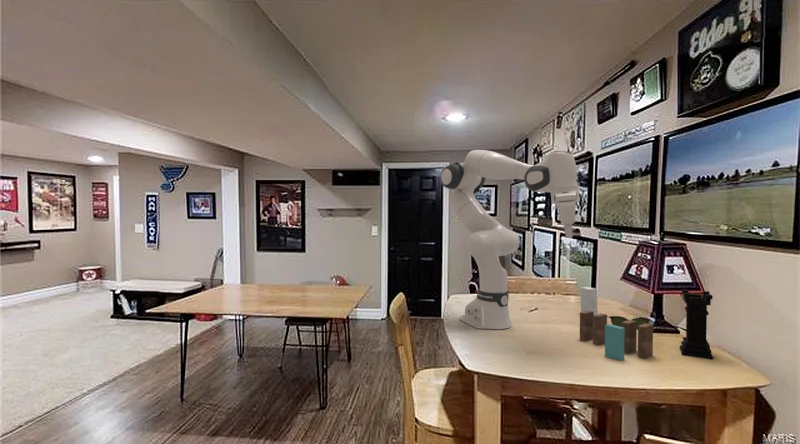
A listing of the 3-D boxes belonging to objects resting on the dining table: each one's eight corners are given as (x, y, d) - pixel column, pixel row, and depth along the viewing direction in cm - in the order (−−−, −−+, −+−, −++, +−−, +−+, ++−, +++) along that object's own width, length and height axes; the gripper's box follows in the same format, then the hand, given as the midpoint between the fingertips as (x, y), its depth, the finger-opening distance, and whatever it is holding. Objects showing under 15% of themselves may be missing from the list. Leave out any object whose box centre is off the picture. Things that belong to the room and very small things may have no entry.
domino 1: (579, 339, 144) (579, 312, 144) (587, 337, 147) (587, 310, 146) (585, 341, 142) (585, 313, 142) (593, 338, 145) (593, 311, 144)
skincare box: (598, 316, 174) (598, 289, 173) (589, 317, 173) (589, 289, 172) (588, 312, 180) (588, 286, 179) (579, 313, 179) (579, 286, 178)
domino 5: (637, 356, 127) (637, 325, 127) (645, 353, 130) (645, 323, 130) (644, 359, 125) (645, 327, 125) (652, 355, 128) (653, 324, 128)
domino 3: (620, 360, 124) (620, 329, 124) (604, 355, 128) (605, 325, 128) (624, 359, 125) (624, 327, 125) (608, 354, 130) (608, 323, 129)
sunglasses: (609, 328, 158) (609, 315, 159) (603, 321, 172) (603, 309, 173) (650, 331, 154) (650, 318, 154) (641, 323, 168) (640, 312, 168)
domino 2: (592, 343, 140) (593, 315, 139) (600, 340, 142) (601, 313, 142) (598, 345, 138) (599, 316, 137) (606, 342, 141) (607, 314, 140)
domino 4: (621, 352, 131) (622, 322, 131) (629, 349, 134) (629, 319, 134) (628, 354, 129) (628, 323, 129) (636, 351, 132) (636, 321, 132)
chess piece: (709, 351, 131) (710, 291, 130) (713, 359, 124) (714, 296, 124) (679, 347, 135) (680, 289, 134) (681, 355, 128) (682, 293, 128)
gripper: (554, 200, 146) (558, 238, 146) (555, 196, 127) (559, 239, 127) (573, 198, 144) (577, 237, 143) (576, 193, 125) (581, 237, 124)
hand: (569, 238), depth 135 cm, fingers open, 8 cm apart
